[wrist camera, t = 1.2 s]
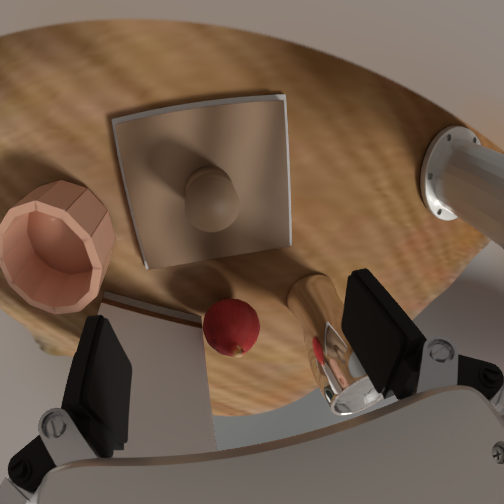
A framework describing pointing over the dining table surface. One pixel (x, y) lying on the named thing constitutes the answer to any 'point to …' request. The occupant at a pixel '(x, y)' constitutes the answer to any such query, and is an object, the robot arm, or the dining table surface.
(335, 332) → the beer glass
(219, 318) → the onion
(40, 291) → the bowl
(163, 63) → the dining table surface
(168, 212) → the lid
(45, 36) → the dining table surface
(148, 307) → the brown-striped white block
